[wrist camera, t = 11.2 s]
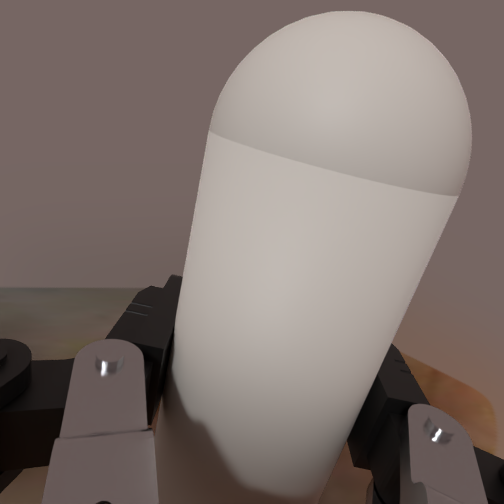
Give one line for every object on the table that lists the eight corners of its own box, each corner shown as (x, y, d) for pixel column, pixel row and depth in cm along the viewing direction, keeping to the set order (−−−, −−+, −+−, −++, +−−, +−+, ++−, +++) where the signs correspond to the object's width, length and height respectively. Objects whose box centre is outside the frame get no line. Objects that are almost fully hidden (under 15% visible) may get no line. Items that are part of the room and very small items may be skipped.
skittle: (67, 680, 9) (132, -167, 3) (145, 456, 15) (219, 20, 9) (304, 717, 9) (770, 18, 3) (288, 484, 15) (449, 81, 9)
